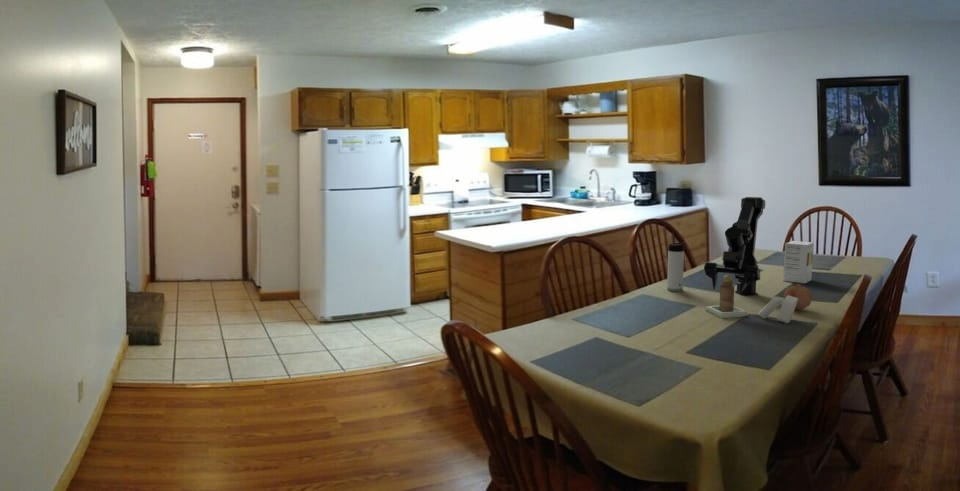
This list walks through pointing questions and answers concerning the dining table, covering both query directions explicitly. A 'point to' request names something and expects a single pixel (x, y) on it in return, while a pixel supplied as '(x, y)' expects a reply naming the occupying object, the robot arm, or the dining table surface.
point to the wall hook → (785, 310)
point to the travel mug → (675, 266)
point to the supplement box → (798, 261)
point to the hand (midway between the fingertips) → (727, 290)
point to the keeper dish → (736, 312)
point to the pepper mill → (726, 295)
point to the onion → (799, 295)
